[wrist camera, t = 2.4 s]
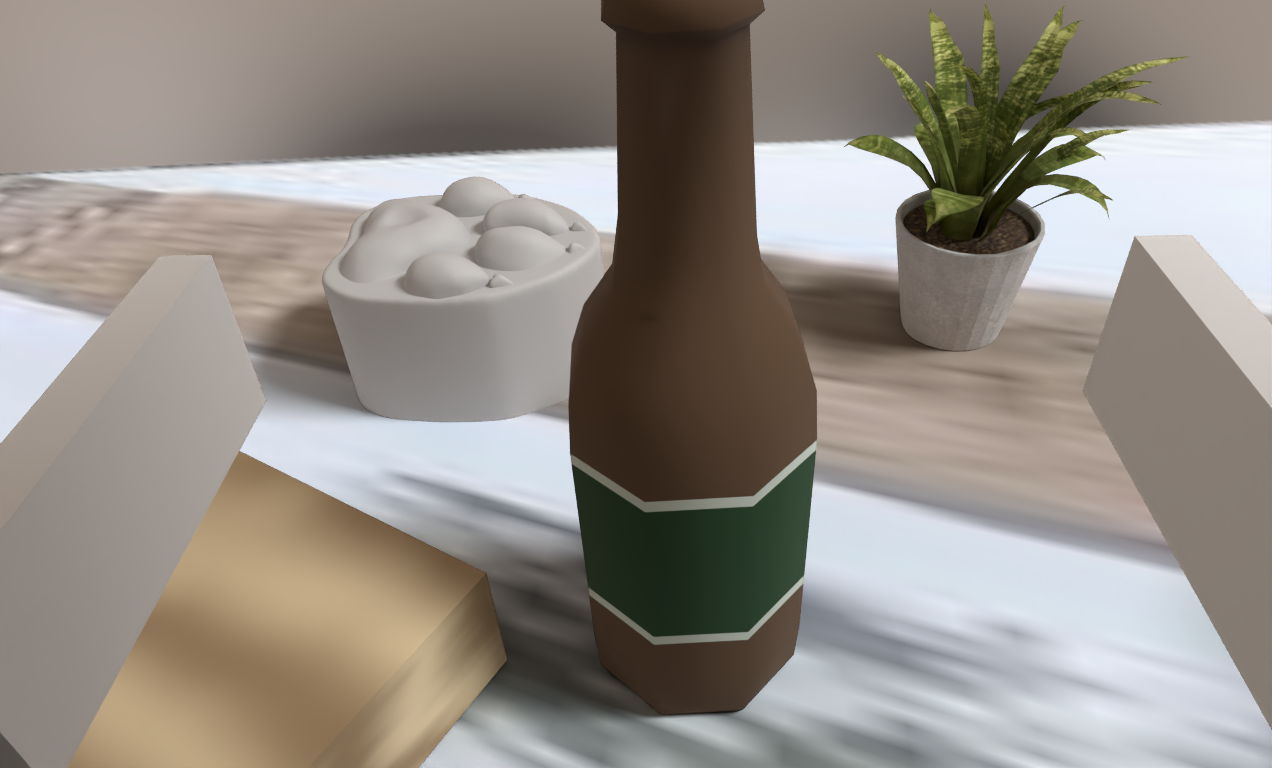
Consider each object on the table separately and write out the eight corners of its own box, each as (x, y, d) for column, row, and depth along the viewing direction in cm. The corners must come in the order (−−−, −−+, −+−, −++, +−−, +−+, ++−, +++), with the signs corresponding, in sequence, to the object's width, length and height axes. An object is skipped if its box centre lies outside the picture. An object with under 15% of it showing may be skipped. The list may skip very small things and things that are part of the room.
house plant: (1084, 458, 41) (1209, 102, 31) (786, 385, 46) (807, 59, 36) (1109, 293, 51) (1209, -18, 40) (860, 248, 56) (894, -38, 45)
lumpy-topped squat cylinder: (396, 305, 54) (361, 168, 48) (617, 303, 53) (606, 162, 47) (342, 423, 46) (292, 274, 40) (602, 422, 45) (586, 270, 39)
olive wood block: (271, 532, 40) (234, 448, 37) (506, 659, 34) (486, 573, 31) (-24, 782, 31) (-106, 700, 28) (223, 1006, 26) (155, 934, 23)
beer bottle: (558, 689, 33) (429, -2, 18) (635, 534, 39) (586, -92, 24) (768, 757, 31) (821, 24, 16) (818, 581, 36) (893, -84, 21)
